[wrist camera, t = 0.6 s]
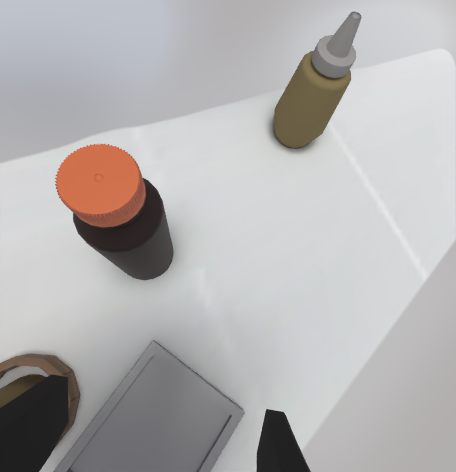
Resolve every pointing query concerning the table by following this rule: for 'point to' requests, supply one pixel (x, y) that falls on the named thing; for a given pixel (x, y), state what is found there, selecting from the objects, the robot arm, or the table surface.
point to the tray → (157, 422)
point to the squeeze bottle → (316, 87)
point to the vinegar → (116, 209)
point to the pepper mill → (18, 388)
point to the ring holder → (50, 367)
